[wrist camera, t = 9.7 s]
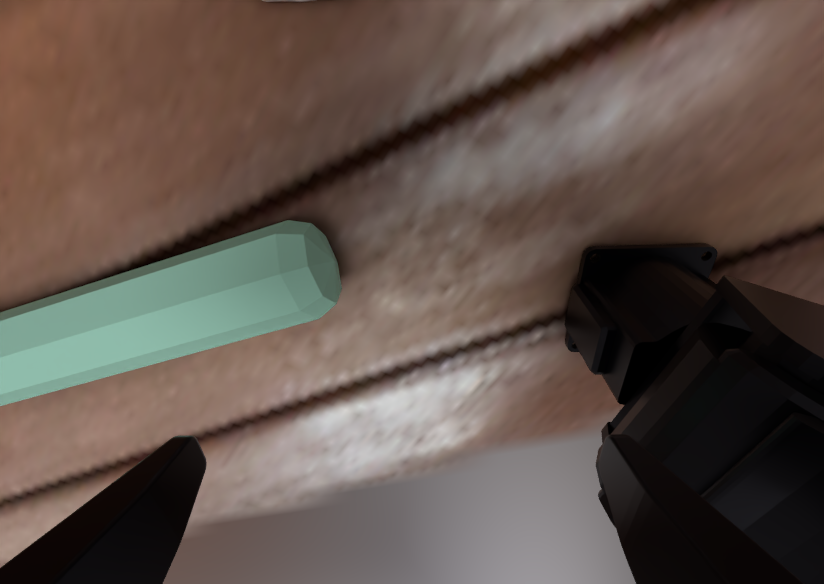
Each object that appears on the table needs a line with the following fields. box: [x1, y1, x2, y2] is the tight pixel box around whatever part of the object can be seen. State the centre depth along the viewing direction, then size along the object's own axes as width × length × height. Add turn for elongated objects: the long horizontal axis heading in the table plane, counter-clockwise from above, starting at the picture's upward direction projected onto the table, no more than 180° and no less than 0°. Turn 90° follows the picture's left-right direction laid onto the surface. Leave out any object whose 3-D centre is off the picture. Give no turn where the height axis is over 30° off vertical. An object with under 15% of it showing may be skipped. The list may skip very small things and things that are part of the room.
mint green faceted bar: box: [0, 220, 342, 406], centre depth 20 cm, size 6×6×25 cm
